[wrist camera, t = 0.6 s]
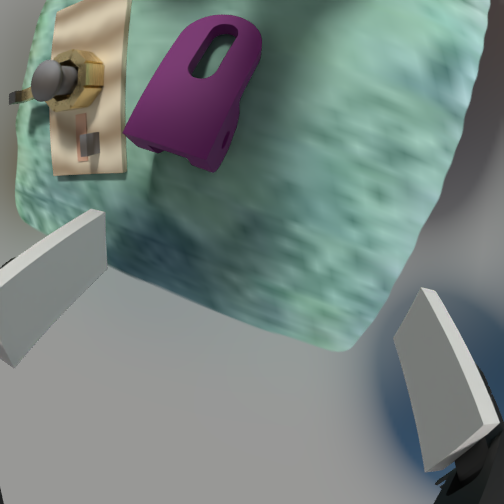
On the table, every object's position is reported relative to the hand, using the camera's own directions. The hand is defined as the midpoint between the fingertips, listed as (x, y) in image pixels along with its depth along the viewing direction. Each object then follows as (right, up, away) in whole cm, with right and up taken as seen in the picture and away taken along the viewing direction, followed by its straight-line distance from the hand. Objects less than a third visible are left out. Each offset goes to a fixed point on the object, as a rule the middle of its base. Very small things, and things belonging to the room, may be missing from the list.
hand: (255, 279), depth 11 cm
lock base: (-24, +25, +21) cm, 41 cm away
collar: (-28, +25, +20) cm, 43 cm away
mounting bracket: (-5, +21, +21) cm, 30 cm away
